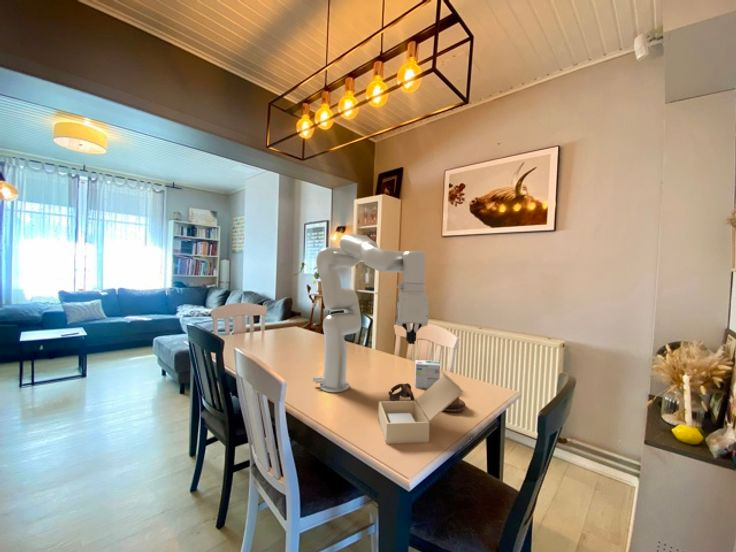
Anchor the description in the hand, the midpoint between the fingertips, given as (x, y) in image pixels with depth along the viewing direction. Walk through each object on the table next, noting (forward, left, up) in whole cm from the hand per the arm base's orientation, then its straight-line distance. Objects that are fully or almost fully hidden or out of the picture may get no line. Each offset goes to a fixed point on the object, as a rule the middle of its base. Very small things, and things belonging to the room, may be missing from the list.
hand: (410, 343), depth 102 cm
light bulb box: (+17, +32, -27) cm, 45 cm away
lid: (+7, -4, -15) cm, 17 cm away
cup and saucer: (+19, +11, -28) cm, 35 cm away
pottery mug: (+2, +16, -27) cm, 32 cm away
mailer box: (-3, -4, -27) cm, 28 cm away
